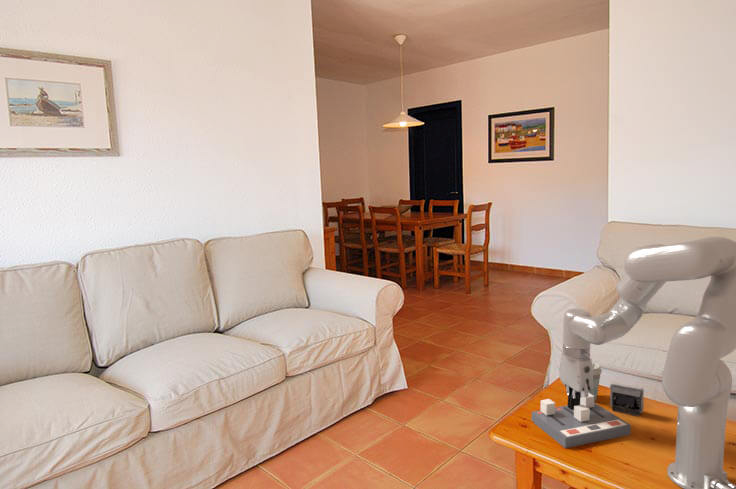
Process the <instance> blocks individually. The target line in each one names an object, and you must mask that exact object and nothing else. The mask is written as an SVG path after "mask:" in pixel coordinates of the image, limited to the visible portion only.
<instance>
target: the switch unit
mask: <svg viewBox="0 0 736 489" xmlns="http://www.w3.org/2000/svg"><path fill="white" fill-rule="evenodd" d="M589 409H590V416H589V420H588V421H583V422H580V421H579V420H577V419H576V418H574V410H571V409H570V408H568V404H567V405H563V406H557V407H556V406H555V414H552V415H547V416H546V415H545V414H544V413H542V412H541V409H540V410H535V411H531V422H532V421H533V422H534V423H533V422H532V423H533V424H534V425H536V426H537V427H538V428H539V429H541V430H542V431H543V432H545V433H546V434H547V435H548V436H549V437H551V438H552V439H554V441H555V442H557V443H558V444H559V445H560V446H562V447H563V448H564V449H568V448H573V447H578V446H583V445H586V444H592V443H597V442H601V441H606V440H612V439H615V438H620V437H621V438H622V437H625V436H630V435H631V434H632V433H631V429H632V424H630V423H629V422H626V420H624V419H622V418H620V417H619V416H617V415H616V414H614V413H612V412H611V411H609V410H607V409H606V408H604V407H602V406H601V405H599V404H598V403H596V402H594V407H590V408H589Z"/></svg>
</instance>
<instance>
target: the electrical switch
mask: <svg viewBox="0 0 736 489" xmlns="http://www.w3.org/2000/svg"><path fill="white" fill-rule="evenodd" d="M609 388H610V396H609V397H610V398H609V400H610V402H609V405H610V407H611V410H612V412H615V413H622V414H626V415H630V416H636V417H640V414H642V413H644V395H645V393H644V392H645V389H644V388H643V387H639V386H635V385H634V386H633V385H629V384H628V385H627V384H623V383H616V382H611V383H610V385H609Z"/></svg>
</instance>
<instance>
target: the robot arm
mask: <svg viewBox="0 0 736 489" xmlns="http://www.w3.org/2000/svg"><path fill="white" fill-rule="evenodd" d="M623 268H624V272H625V273H624V274H623V276H622V277H620V279H619V280H618V282H617V283H616V285H615V286H616V287H615V290H616V293H617V294H618V295H619V299H618V300H617V302H616V303H615V304H614V306H612V308H610V310H609V311H608V312H606V313H603V314H600V315H596V316H592V313H591V312H589V311H588V310H585V309H582V308H570V309H567V310H565V312H564V315H563V330H562V333H563V334H562V351H561V357H560V361H559V373H558V374H559V375H558V376H559V380H560V381H561V383H562V384H563V385H564V386H565V388H566V394H567V405H568V408H570V409H571V410H574V406H577V405H580V397H588V396H589V395H588V390H590V391H592V390H593V366H592V362H593V361H592V358H591V344H592V345H595V346H600V345H604V344H607V343H610V342H611V341H615V340H618V339H620V338H622V337H624V336H625V335H627V333H629V332H630V331H631V330H632V329H633V327H634V326H635V325H636V324H637V323H638V322H639V321H640V319H641V318H642V317H643V316H644V313H645V311H646V308H647V305H648V303H649V302H650V301H651V300H652V298H653V297H655V295H656V294H657V293H658V292H659V290H661V288H662V287H663V286H664V285H665V284H666V283H667V282H677V281H681V282H682V281H691V280H692V281H694V280H701V279H704V278H705V279H706V278H708V277H710V280H709V282H708V284H707V286H706V289H705V291H704V292H703V295H702V300H701V302H700V306H699V310H698V312H697V314H696V317H695V318H694V319H692V320H689V321H687V322H685V323H683V324H682V325H680V326H678V328H677V329H676V331H675V332H674V333H673V336H672V338H671V341H670V345H669V348H668V352H667V356H666V360H665V364H664V368H663V370H662V376H661V384H662V388H663V392H664V393H665V395H666V397H667V398H668V399H669V400H670V401H672V402H673V403H675V405H678V406H677V408H678V409H677V419H676V441H675V459H674V462H671V463H670V464H669V465H668V466H667V467H666V468H667V470H666V471H667V476H668V477H669V479H670V480H671V481H672V482H673V483H674V484H676V485H677V486H679V487H680V488H682V489H736V484H734V483H732V482H730V481H729V479H728V472H727V471H725V470H724V454H725V442H726V426H727V413H728V406H729V401H730V397H731V392H732V387H733V377H732V372H731V370H730V367H729V366H728V365H727V364H726V363H725V361H723V358H724V357H727V356H728V355H729V354H732V353H733V352H734V351H735V350H736V241H735V240H732V239H731V238H726V237H723V236H710V237H709V236H708V237H704V238H700V239H695V240H689V241H684V242H678V243H671V244H662V243H654V244H650V245H645V246H640V247H636V248H634V249H632V250H631V251H630V252H629V253H628V254H627V255H626V256H625V258H624V262H623ZM577 391H578V392H577Z"/></svg>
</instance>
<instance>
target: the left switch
mask: <svg viewBox="0 0 736 489" xmlns="http://www.w3.org/2000/svg"><path fill="white" fill-rule="evenodd" d="M555 408H556V402H555V401H553V400H552V399H551V398H546V399H542V400H540V410H541V412H542V413H544V414H545V415H546V416H547V415H552V414H555Z"/></svg>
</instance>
